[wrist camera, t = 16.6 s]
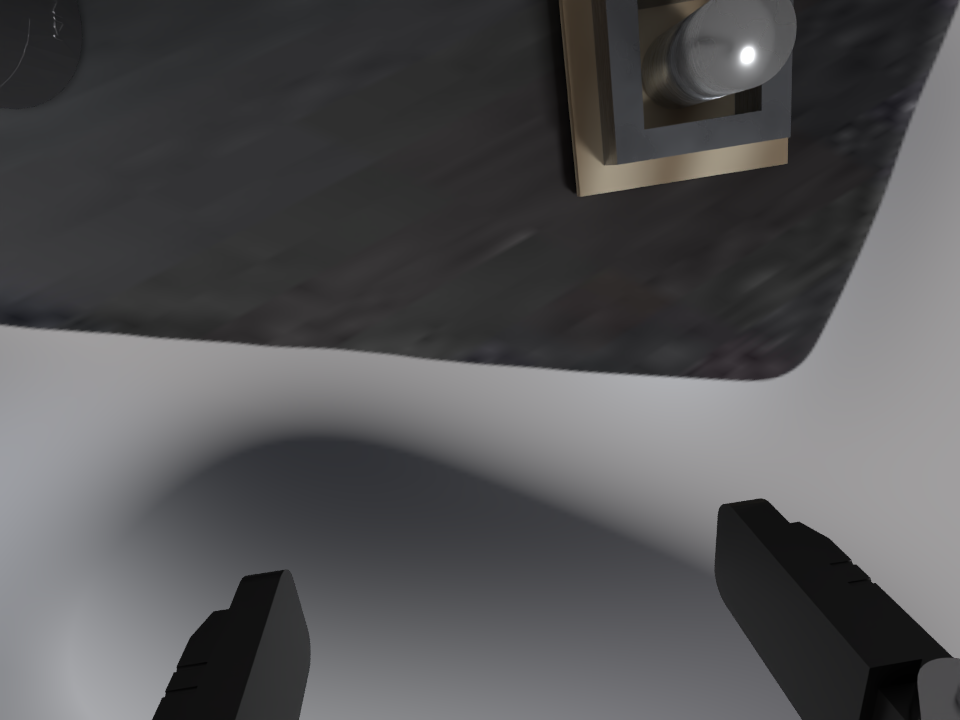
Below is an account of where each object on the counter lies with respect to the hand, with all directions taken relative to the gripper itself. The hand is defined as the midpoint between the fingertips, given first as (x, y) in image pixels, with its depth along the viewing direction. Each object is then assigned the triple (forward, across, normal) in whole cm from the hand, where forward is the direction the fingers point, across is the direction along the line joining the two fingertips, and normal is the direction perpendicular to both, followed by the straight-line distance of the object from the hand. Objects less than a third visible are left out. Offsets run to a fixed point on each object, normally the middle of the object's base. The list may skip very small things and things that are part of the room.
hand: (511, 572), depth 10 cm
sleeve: (+25, -14, -10) cm, 30 cm away
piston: (+25, -14, -10) cm, 30 cm away
